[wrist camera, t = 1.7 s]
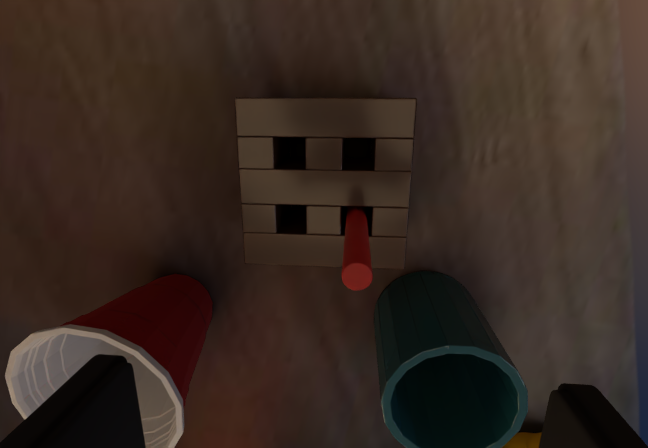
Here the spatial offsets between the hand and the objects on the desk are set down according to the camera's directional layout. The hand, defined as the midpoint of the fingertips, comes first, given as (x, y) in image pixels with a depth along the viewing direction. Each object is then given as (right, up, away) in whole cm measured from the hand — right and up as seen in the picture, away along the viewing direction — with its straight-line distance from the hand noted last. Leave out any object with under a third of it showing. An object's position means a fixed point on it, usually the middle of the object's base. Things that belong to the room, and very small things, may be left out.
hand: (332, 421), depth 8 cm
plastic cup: (-13, -3, +25) cm, 28 cm away
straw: (+2, +6, +20) cm, 22 cm away
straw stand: (0, +8, +20) cm, 22 cm away
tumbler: (+8, -3, +23) cm, 25 cm away
